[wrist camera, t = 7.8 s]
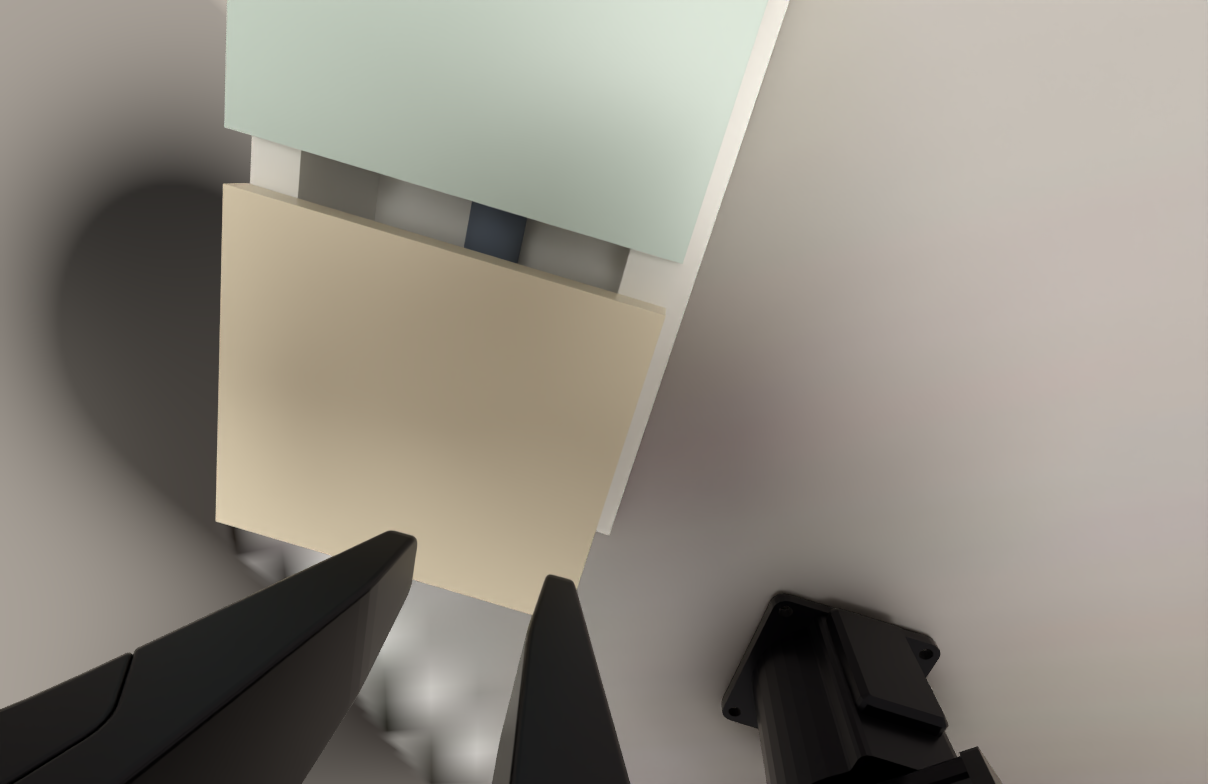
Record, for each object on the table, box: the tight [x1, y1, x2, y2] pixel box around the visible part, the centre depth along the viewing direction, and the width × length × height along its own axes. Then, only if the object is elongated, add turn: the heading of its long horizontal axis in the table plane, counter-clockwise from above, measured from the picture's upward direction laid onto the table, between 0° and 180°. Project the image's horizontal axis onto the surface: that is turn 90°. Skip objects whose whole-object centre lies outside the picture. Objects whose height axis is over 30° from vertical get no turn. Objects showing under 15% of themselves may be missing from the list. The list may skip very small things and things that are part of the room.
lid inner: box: [216, 183, 666, 615], centre depth 15 cm, size 9×10×1 cm
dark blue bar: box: [464, 201, 527, 264], centre depth 16 cm, size 16×2×2 cm, turn 164°
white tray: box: [250, 0, 790, 535], centre depth 16 cm, size 20×12×5 cm, turn 164°
